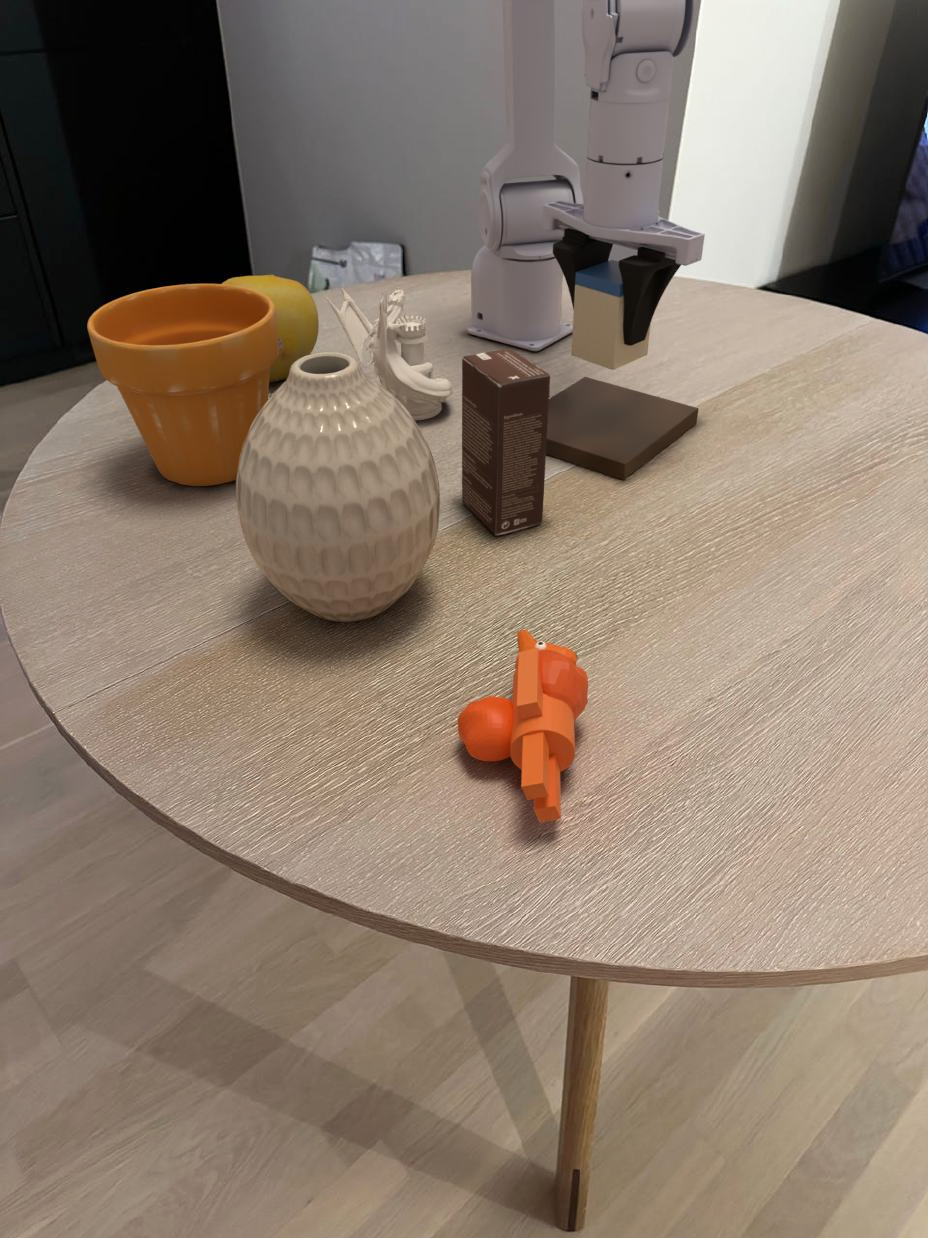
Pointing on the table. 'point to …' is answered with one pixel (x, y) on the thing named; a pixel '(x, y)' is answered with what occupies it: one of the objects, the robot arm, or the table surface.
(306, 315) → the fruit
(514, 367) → the box
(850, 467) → the table surface
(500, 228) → the robot arm
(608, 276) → the carton
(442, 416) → the table surface
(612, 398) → the board
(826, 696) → the table surface
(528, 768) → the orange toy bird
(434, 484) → the vase
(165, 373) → the flower pot
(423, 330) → the figurine
